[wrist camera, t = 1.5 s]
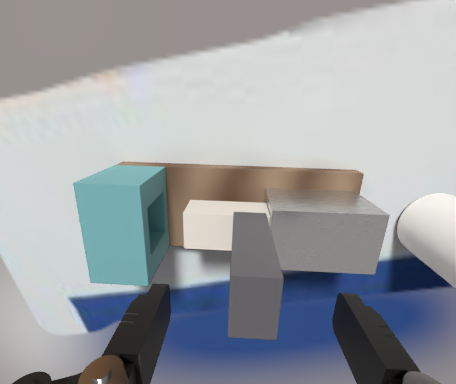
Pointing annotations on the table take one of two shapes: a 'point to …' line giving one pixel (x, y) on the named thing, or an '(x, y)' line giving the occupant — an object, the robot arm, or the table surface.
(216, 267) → the table surface
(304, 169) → the board
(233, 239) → the sliding bolt
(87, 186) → the socket
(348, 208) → the grey speckled block
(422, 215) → the can
